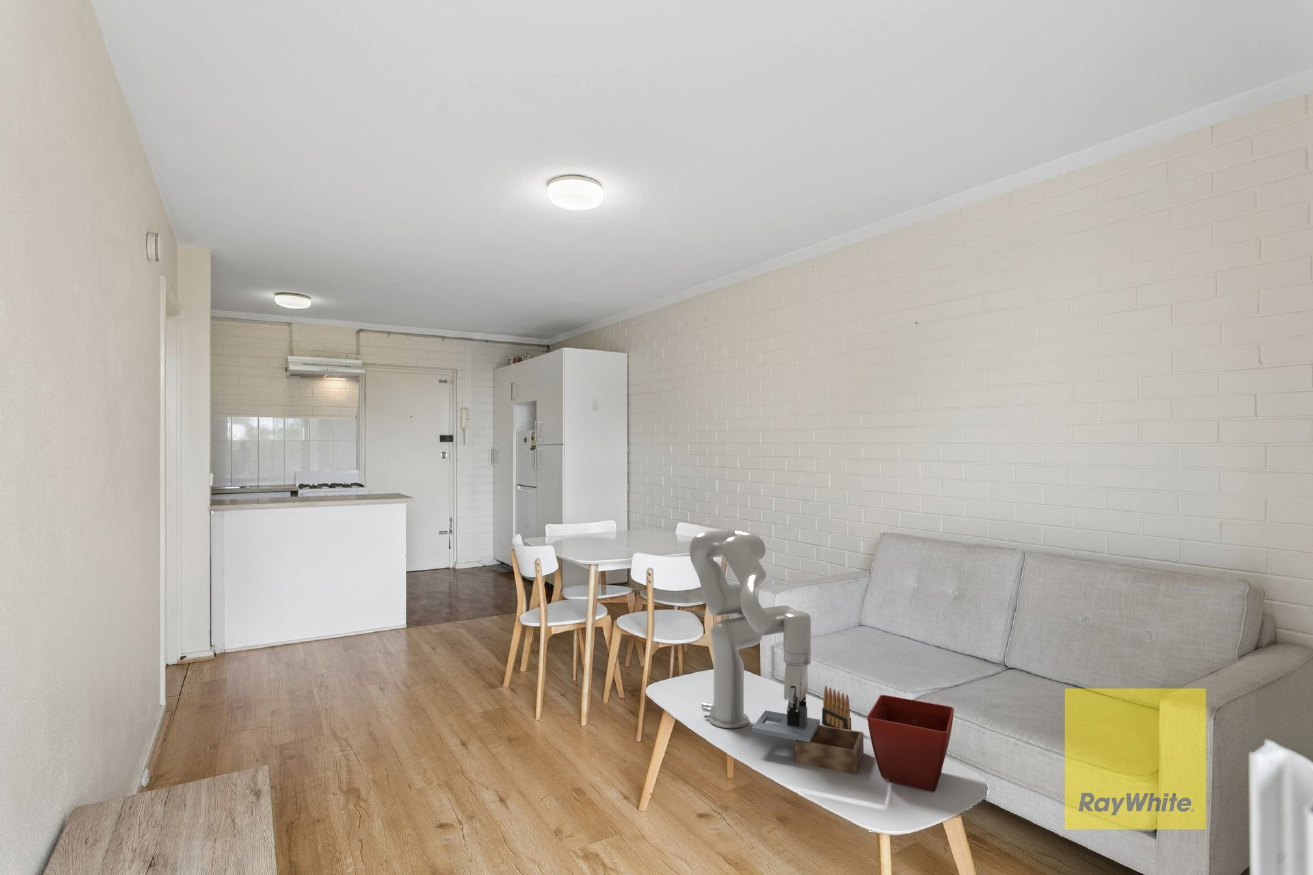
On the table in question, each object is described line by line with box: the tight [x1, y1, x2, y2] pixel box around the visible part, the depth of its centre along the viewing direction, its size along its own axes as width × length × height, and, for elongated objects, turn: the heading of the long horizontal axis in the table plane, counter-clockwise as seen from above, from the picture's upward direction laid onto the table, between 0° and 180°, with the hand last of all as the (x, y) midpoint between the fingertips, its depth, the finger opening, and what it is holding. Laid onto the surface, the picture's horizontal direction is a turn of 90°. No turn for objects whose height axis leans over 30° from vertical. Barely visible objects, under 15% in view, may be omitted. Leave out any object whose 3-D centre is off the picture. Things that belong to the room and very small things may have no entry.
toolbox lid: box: [751, 706, 821, 742], centre depth 187 cm, size 16×14×6 cm
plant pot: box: [866, 694, 955, 793], centre depth 173 cm, size 19×19×17 cm
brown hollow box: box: [794, 724, 865, 776], centre depth 182 cm, size 16×14×7 cm
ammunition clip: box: [821, 685, 852, 730], centre depth 204 cm, size 11×2×12 cm, turn 30°
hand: (797, 719), depth 186 cm, fingers open, 8 cm apart
